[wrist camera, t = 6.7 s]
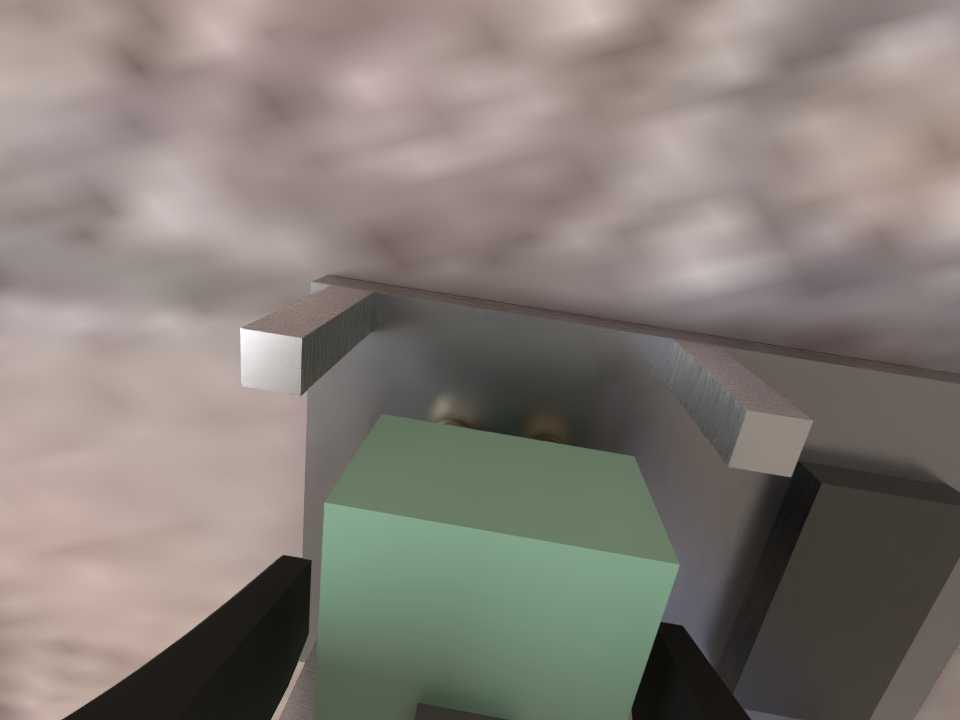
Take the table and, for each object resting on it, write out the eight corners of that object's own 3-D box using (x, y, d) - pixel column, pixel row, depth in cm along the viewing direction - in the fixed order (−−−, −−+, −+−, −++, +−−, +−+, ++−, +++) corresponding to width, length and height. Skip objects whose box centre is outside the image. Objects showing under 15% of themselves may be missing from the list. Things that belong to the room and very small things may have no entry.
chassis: (1054, 389, 12) (1399, 515, 7) (862, 734, 16) (1005, 962, 11) (327, 275, 13) (210, 323, 8) (312, 634, 17) (227, 810, 12)
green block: (633, 456, 10) (688, 585, 6) (555, 740, 12) (567, 933, 9) (381, 413, 10) (312, 520, 7) (356, 703, 12) (297, 880, 9)
